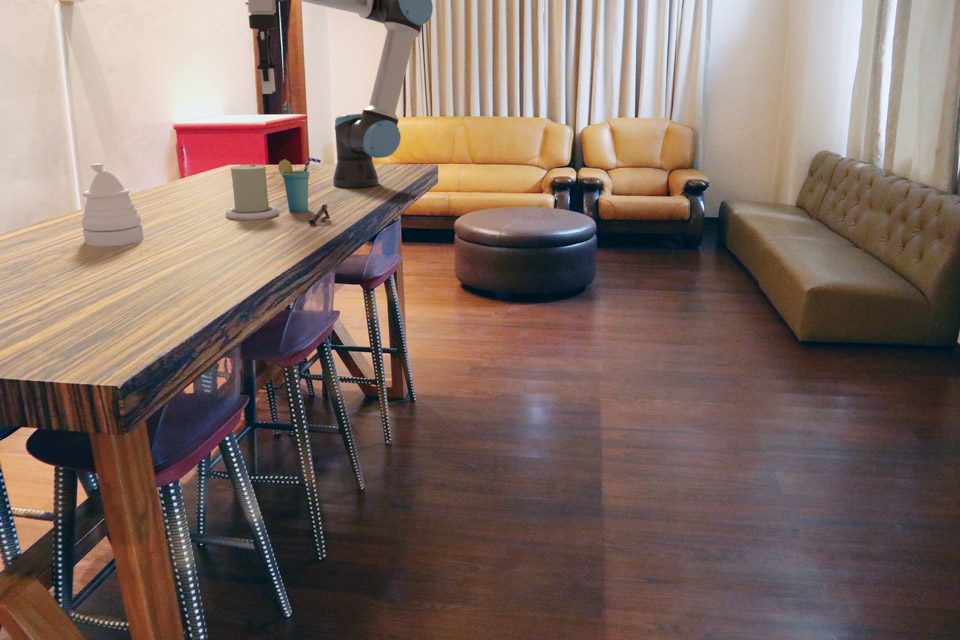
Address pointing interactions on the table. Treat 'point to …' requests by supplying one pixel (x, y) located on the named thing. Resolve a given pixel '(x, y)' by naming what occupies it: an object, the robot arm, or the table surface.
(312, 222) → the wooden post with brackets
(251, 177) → the can
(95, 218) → the honey pot
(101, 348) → the table surface
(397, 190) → the table surface
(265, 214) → the white and grey plate
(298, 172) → the cup
